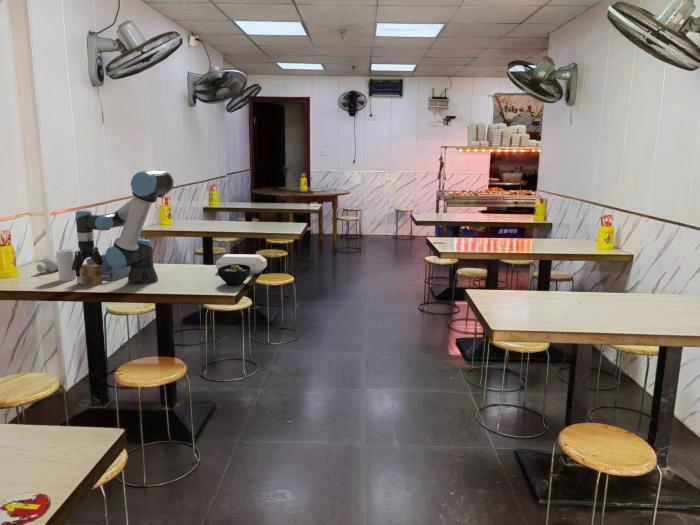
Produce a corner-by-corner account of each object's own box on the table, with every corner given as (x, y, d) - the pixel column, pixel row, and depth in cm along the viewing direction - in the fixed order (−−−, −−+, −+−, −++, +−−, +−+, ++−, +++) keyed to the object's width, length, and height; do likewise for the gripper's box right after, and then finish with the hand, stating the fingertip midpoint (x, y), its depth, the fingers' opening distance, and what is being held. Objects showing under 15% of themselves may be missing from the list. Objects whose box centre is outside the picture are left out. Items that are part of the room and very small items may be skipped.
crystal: (221, 252, 322) (267, 253, 320) (222, 268, 324) (268, 269, 322) (213, 257, 308) (262, 258, 306) (214, 274, 310) (262, 275, 308)
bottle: (70, 258, 336) (31, 270, 307) (76, 246, 332) (36, 257, 304) (81, 267, 335) (43, 279, 307) (87, 255, 332) (48, 267, 304)
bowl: (213, 287, 280) (212, 268, 278) (225, 279, 297) (224, 261, 295) (245, 288, 278) (244, 269, 276) (255, 280, 294) (254, 262, 292)
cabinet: (86, 279, 296) (84, 259, 294) (110, 271, 315) (108, 252, 313) (111, 281, 292) (109, 261, 290) (134, 273, 311) (133, 254, 308)
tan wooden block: (102, 283, 287) (100, 265, 285) (95, 285, 282) (93, 267, 280) (83, 281, 290) (81, 263, 288) (76, 284, 286) (74, 265, 284)
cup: (79, 277, 299) (76, 249, 296) (70, 281, 291) (67, 252, 288) (65, 277, 300) (62, 249, 296) (56, 281, 292) (52, 251, 288)
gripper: (96, 236, 295) (99, 273, 299) (61, 243, 271) (65, 284, 276) (108, 236, 293) (111, 274, 297) (73, 244, 269) (77, 285, 274)
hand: (89, 279), depth 286 cm, fingers open, 13 cm apart
